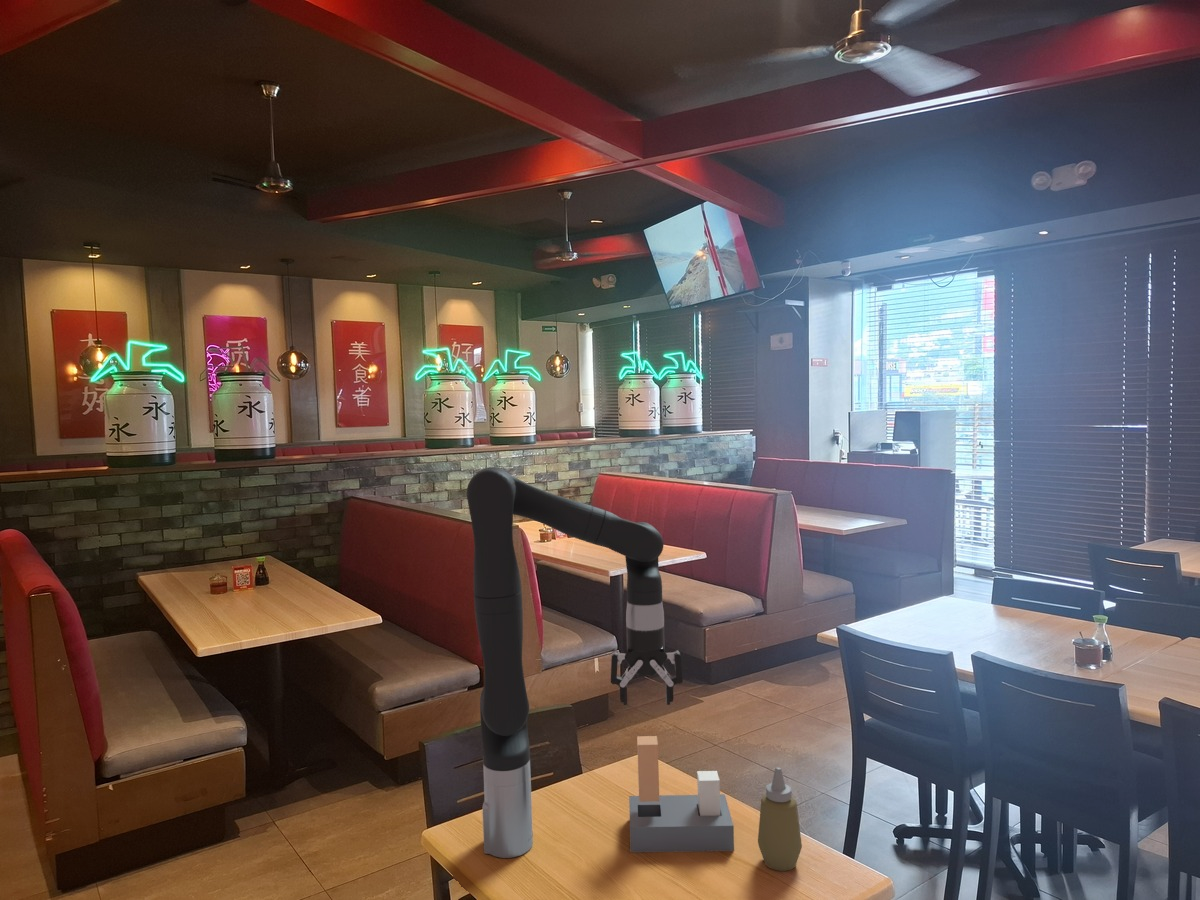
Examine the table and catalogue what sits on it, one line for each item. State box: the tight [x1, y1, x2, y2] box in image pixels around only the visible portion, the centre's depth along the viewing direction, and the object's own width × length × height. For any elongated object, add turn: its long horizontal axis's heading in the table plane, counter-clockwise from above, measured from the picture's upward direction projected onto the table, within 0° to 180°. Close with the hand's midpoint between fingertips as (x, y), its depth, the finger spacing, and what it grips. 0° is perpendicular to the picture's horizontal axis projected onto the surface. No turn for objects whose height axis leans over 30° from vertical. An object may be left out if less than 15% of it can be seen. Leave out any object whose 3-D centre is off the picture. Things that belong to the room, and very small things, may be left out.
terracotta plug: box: [636, 735, 660, 802], centre depth 152 cm, size 4×4×12 cm
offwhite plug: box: [696, 770, 721, 816], centre depth 152 cm, size 4×4×12 cm
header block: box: [628, 793, 735, 853], centre depth 153 cm, size 20×12×5 cm, turn 89°
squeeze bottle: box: [757, 767, 803, 872], centre depth 142 cm, size 8×8×18 cm
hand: (646, 703), depth 152 cm, fingers open, 8 cm apart
